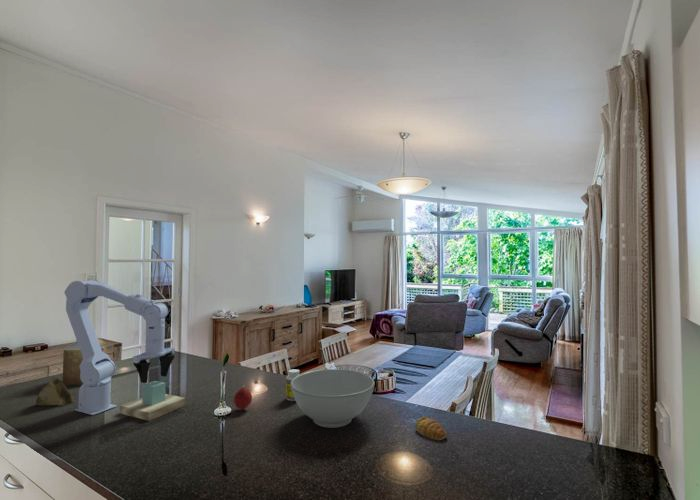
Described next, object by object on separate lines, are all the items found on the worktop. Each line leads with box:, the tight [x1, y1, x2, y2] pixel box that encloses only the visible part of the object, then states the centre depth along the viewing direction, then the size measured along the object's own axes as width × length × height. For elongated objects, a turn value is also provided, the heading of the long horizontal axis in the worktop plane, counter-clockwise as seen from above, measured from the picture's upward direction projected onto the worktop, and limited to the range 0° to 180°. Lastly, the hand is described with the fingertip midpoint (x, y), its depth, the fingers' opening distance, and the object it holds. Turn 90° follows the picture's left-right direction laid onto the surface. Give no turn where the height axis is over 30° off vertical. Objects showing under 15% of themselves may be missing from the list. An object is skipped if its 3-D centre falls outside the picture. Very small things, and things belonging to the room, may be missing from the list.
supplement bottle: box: [285, 368, 300, 402], centre depth 135 cm, size 6×6×10 cm
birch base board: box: [119, 393, 187, 422], centre depth 125 cm, size 14×14×2 cm
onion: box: [233, 385, 253, 411], centre depth 125 cm, size 6×6×8 cm
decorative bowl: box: [291, 368, 376, 429], centre depth 118 cm, size 27×27×12 cm
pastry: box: [414, 416, 447, 441], centre depth 108 cm, size 9×7×4 cm
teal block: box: [141, 380, 167, 405], centre depth 125 cm, size 5×5×6 cm
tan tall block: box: [61, 337, 108, 386], centre depth 155 cm, size 11×11×19 cm
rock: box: [35, 377, 75, 407], centre depth 130 cm, size 11×9×10 cm
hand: (154, 379), depth 125 cm, fingers open, 7 cm apart
